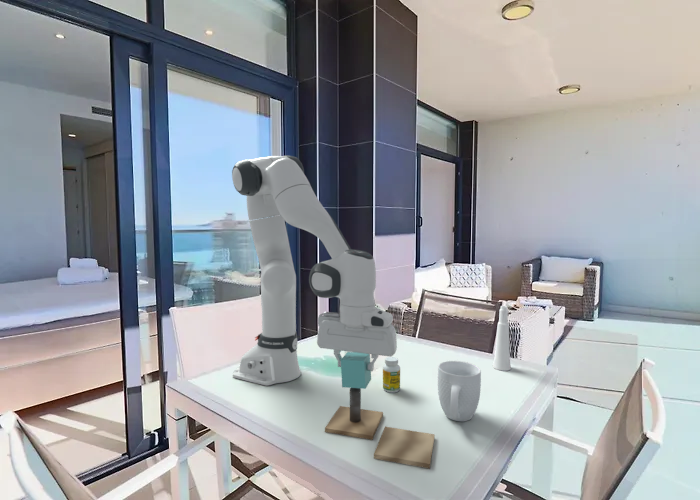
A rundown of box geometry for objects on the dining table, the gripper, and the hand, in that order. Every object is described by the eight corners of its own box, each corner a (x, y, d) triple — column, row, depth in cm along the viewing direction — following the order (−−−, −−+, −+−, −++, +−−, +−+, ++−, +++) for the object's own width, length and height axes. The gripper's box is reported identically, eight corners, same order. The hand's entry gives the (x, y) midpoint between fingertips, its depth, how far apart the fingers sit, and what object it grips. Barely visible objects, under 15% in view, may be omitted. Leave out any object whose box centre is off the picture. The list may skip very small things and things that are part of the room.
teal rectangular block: (342, 387, 98) (340, 359, 98) (349, 377, 104) (347, 352, 104) (365, 388, 97) (363, 360, 96) (371, 379, 102) (369, 352, 102)
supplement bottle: (392, 384, 125) (392, 354, 124) (403, 390, 120) (404, 359, 120) (379, 388, 122) (379, 357, 121) (390, 394, 118) (390, 363, 117)
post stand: (324, 431, 97) (324, 396, 96) (340, 409, 108) (340, 377, 107) (372, 439, 93) (372, 403, 93) (383, 415, 105) (383, 382, 104)
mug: (477, 437, 94) (478, 384, 93) (431, 428, 98) (432, 377, 97) (480, 410, 108) (482, 363, 107) (440, 403, 112) (441, 358, 111)
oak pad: (373, 458, 86) (373, 454, 86) (385, 430, 97) (385, 426, 97) (429, 468, 83) (429, 464, 82) (434, 438, 94) (434, 434, 94)
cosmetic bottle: (488, 366, 140) (490, 305, 139) (501, 363, 143) (503, 303, 142) (502, 372, 135) (504, 309, 133) (514, 369, 138) (517, 307, 136)
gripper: (313, 313, 99) (312, 367, 100) (394, 321, 93) (392, 378, 94) (322, 308, 105) (321, 359, 106) (398, 315, 99) (396, 369, 100)
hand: (355, 368), depth 100 cm, fingers closed on teal rectangular block, 6 cm apart
